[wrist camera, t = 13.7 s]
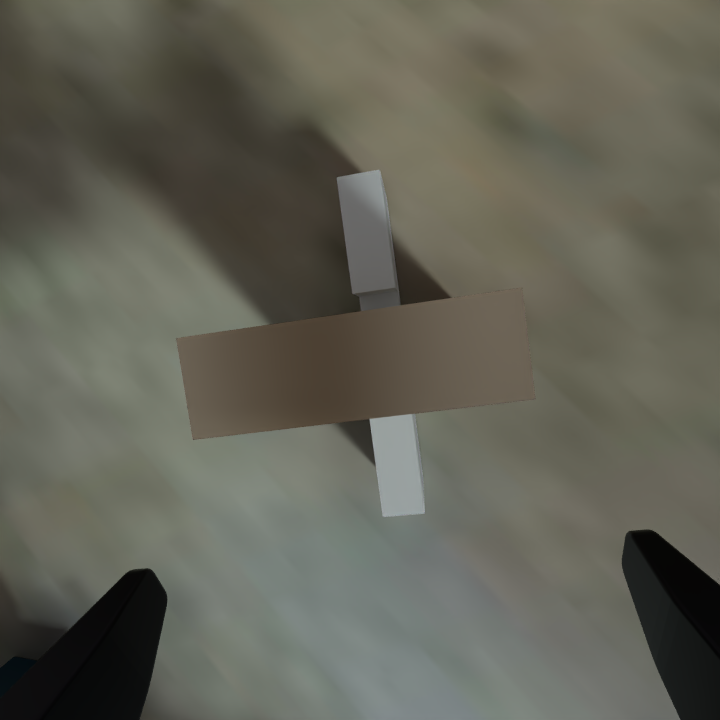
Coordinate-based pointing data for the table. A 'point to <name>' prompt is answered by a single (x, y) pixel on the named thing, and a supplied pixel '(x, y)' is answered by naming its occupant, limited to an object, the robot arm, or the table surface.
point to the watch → (13, 672)
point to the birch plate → (359, 365)
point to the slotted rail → (378, 290)
